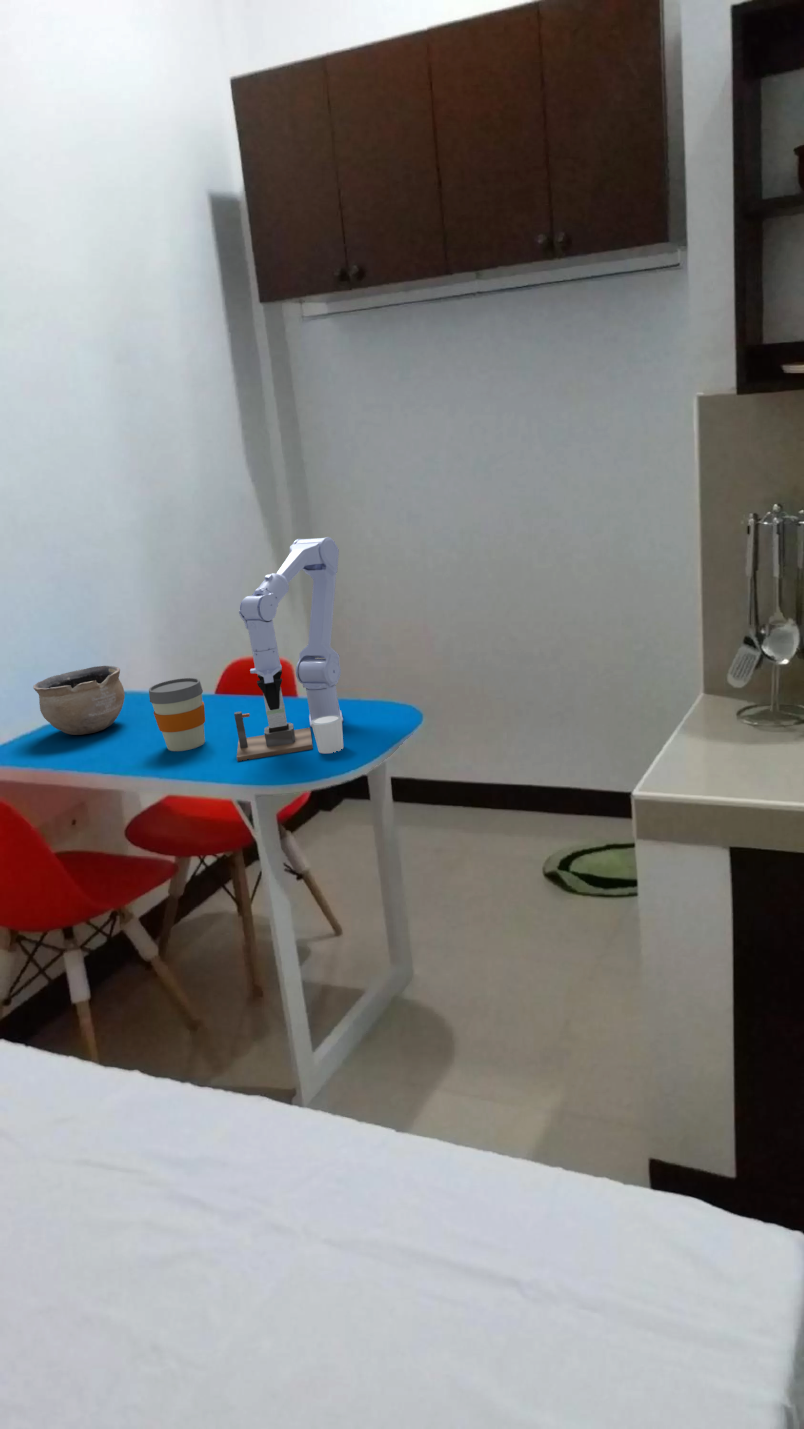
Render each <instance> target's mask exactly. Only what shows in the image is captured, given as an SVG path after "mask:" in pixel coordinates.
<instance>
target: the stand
mask: <svg viewBox="0 0 804 1429" xmlns="http://www.w3.org/2000/svg"><path fill="white" fill-rule="evenodd" d="M250 715H251V714H250V713H242V711H236V712H235V711H234V720H235V726H236V731H237V737H238V742H237V749H236V750H237V751H236V752H237V753H236V761H237V762H243V761H248V760H247V759H249V760H254V759H260V758H265V757H266V758H267V757H271V756H272V757H273V756H278V755H285V754H290V753H296V752H302V751H309V750H313V748H314V746H313V737H312V729H311V727H306V728H300V729H298V728H297V729H294V728H295V727H294V723H291V722H287V725H286V726H280V727H274V728H269V725H268V726H266V727H264V732H263V733H264V734H263V735H256V736H250V737H249V736H248V737H247V734H246V729H245V724H244V718H249V717H250ZM242 760H243V761H242Z"/></svg>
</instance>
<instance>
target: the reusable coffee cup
mask: <svg viewBox="0 0 804 1429" xmlns="http://www.w3.org/2000/svg"><path fill="white" fill-rule="evenodd" d="M203 693H204V690H203V687H202V684H201V680H200V679H199V678H196V677H183V678H176V679H175V678H174V679H171V680H166V681H161V682H159V683H157V684H154V685H152V686H150V687H149V688H148V694H149V695H148V697H149V702H150V703H151V704H152V707H153V710H154V711H153V716H154V719H155V720H156V725H157V727H158V730H159V731H160V732H161V733H162V736H163V739H164V742H165V745H166V747H167V750H168V751H171V752H184V751H188V750H192V749H196V748H198V747H201V746H202V745H204V744H205V742H206V737H205V725H204V724H205V722H206V714H205V713H206V711H205V702H204V701H203Z"/></svg>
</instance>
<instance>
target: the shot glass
mask: <svg viewBox="0 0 804 1429" xmlns="http://www.w3.org/2000/svg"><path fill="white" fill-rule="evenodd" d="M311 724H312V727H311V728H312V732H313V734H314V738H315V742H316V747H317V750H318V752H319V753H320V754H333V752H334V753H337V752H336V751H338V752H340V751H342V750H343V749H344V739H343V738H344V737H343V736H344V734H343V722H342V718H341V716H338V715H328V716H322V717H319V718H316V719H314V720H312V721H311ZM341 749H342V750H341Z"/></svg>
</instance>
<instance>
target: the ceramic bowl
mask: <svg viewBox="0 0 804 1429" xmlns="http://www.w3.org/2000/svg"><path fill="white" fill-rule="evenodd" d="M120 673H121V669H120V668H119V667H118V666H114V665H113V666H112V665H99V666H91V667H86V668H82V669H78V670H72V671H68V672H65V673H61V674H55V675H53V676H50V677H47V678H45V679H43V680H40V681H38V682H36V683H35V684H33V687H32V688H33V690H35V692H36V693H37V694H38V698H39V699H38V700H39V704H38V705H39V711H40V713H41V715H42V717H43V719H45V721H47V722H48V723H49V724H50V725H51V727H53V728H55V729H56V730H59V731H60V732H63V733H64V734H67V735H76V736H80V735H81V736H82V735H89V734H94V733H97V732H101V731H103V730H106V729H107V728H108V727H111V725H113V724H114V723H115V721H116V720H117V718H118V716H119V715H120V714H121V711H122V709H123V706H124V702H125V697H126V696H125V694H126V693H125V689H124V685H123V684H122V682H121V680H120V678H119V677H120V675H121V674H120Z"/></svg>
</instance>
